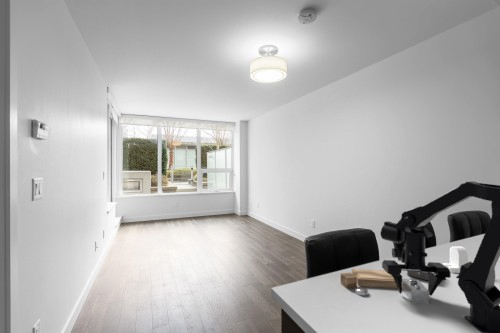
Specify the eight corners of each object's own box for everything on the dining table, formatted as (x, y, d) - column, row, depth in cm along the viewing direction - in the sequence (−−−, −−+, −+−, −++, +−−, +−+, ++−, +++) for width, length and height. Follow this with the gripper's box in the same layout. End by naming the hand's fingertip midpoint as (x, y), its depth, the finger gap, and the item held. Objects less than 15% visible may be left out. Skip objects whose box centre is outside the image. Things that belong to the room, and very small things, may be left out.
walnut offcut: (356, 288, 89) (356, 277, 89) (346, 289, 88) (346, 278, 88) (350, 283, 92) (350, 272, 92) (340, 284, 92) (340, 273, 92)
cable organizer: (442, 267, 106) (442, 244, 106) (466, 268, 105) (466, 245, 105) (450, 272, 101) (450, 248, 101) (477, 273, 100) (476, 249, 100)
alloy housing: (429, 305, 78) (429, 288, 78) (411, 303, 79) (411, 287, 79) (418, 292, 85) (418, 277, 85) (402, 291, 87) (402, 276, 87)
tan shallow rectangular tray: (399, 288, 88) (399, 280, 88) (358, 285, 90) (358, 278, 90) (389, 277, 97) (389, 270, 97) (351, 275, 99) (351, 268, 99)
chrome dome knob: (369, 297, 82) (369, 293, 82) (356, 296, 83) (356, 292, 83) (365, 291, 86) (365, 287, 86) (353, 290, 87) (353, 286, 87)
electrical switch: (434, 273, 92) (405, 261, 98) (430, 285, 92) (402, 274, 98) (437, 265, 98) (410, 255, 105) (434, 277, 99) (408, 267, 105)
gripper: (431, 241, 89) (431, 284, 89) (376, 239, 92) (376, 281, 92) (451, 251, 78) (452, 301, 78) (388, 249, 81) (388, 296, 80)
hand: (414, 293), depth 82 cm, fingers open, 9 cm apart
